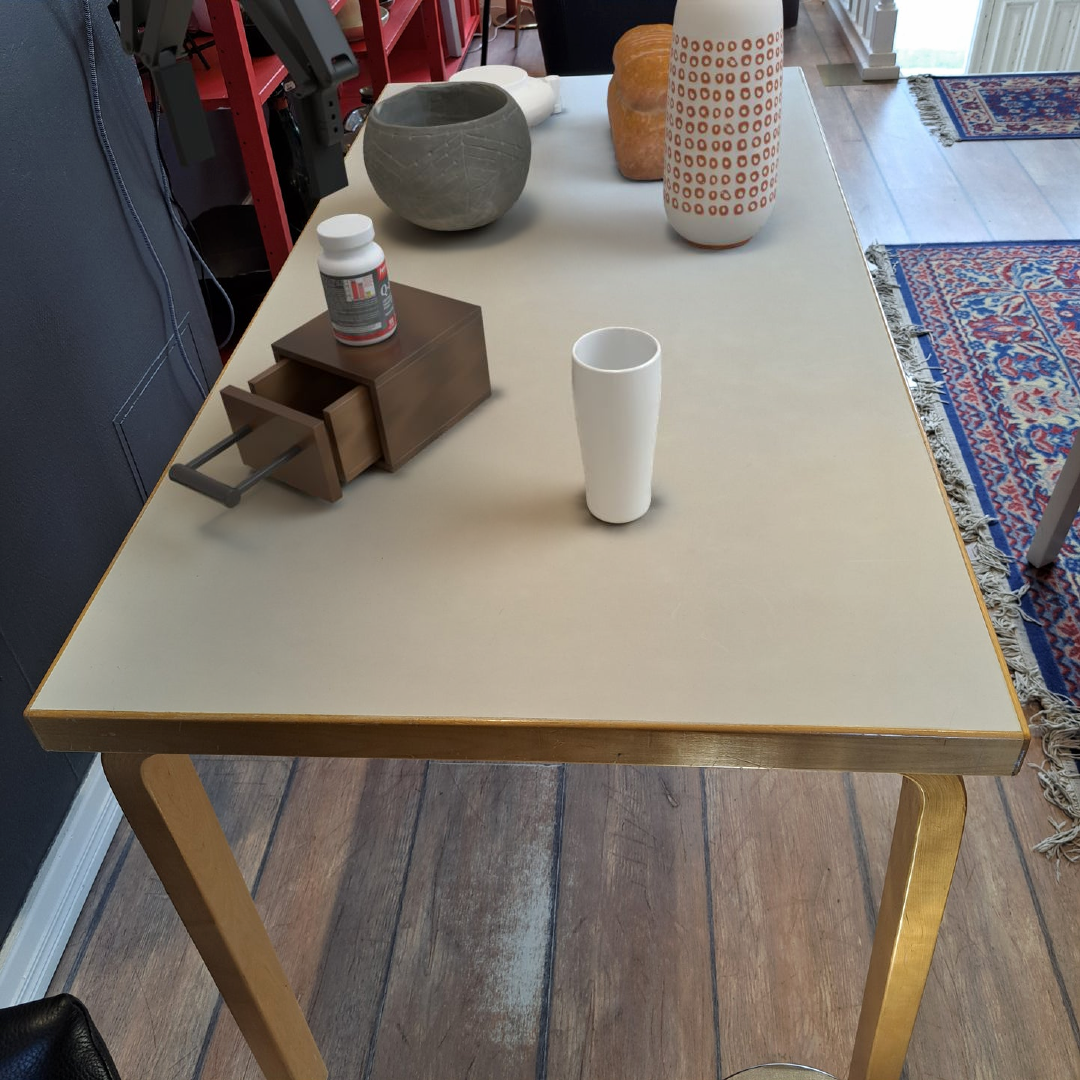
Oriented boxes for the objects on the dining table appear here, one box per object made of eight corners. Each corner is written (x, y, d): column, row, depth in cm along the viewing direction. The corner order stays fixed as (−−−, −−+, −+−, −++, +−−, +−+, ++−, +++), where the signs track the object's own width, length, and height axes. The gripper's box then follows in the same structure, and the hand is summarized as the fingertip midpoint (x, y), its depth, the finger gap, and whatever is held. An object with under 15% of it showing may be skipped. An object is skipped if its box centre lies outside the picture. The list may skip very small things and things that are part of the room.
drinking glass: (615, 543, 78) (612, 382, 69) (561, 505, 83) (551, 348, 73) (676, 506, 81) (681, 347, 72) (621, 471, 86) (618, 316, 76)
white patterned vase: (751, 265, 114) (771, -7, 95) (645, 248, 119) (645, -12, 101) (787, 220, 122) (812, -38, 104) (686, 206, 128) (693, -41, 109)
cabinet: (393, 472, 88) (374, 380, 82) (295, 433, 94) (270, 344, 87) (491, 395, 96) (481, 306, 90) (396, 363, 102) (380, 277, 96)
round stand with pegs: (443, 161, 146) (436, 112, 141) (400, 116, 163) (393, 71, 159) (590, 131, 152) (589, 82, 147) (534, 90, 169) (531, 45, 164)
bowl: (520, 257, 119) (509, 131, 110) (356, 256, 123) (331, 133, 113) (548, 190, 135) (541, 74, 125) (402, 190, 139) (384, 77, 129)
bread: (691, 116, 154) (694, 8, 144) (714, 179, 134) (720, 59, 124) (605, 122, 154) (602, 16, 144) (615, 186, 134) (613, 67, 124)
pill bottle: (405, 338, 87) (386, 230, 80) (342, 354, 85) (318, 245, 79) (387, 311, 91) (368, 206, 84) (327, 326, 89) (303, 220, 83)
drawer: (260, 560, 79) (234, 483, 73) (169, 514, 84) (139, 439, 79) (434, 425, 91) (422, 352, 86) (346, 393, 97) (329, 322, 92)
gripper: (379, -211, 52) (431, 186, 66) (92, -202, 64) (187, 134, 77) (275, -197, 48) (354, 227, 61) (-13, -190, 59) (108, 165, 73)
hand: (261, 176), depth 69 cm, fingers open, 13 cm apart
